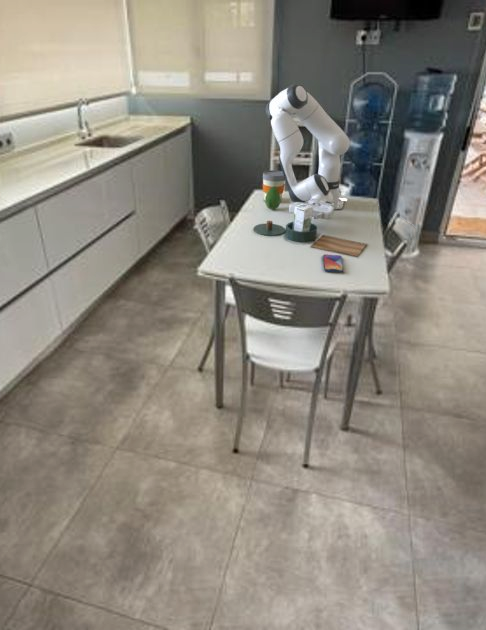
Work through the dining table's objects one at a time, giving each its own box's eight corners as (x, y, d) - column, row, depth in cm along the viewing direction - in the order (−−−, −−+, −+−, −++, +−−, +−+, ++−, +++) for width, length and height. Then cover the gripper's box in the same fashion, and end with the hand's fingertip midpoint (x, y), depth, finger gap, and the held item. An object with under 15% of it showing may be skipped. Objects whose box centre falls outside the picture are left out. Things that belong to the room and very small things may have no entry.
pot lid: (261, 223, 217) (262, 214, 214) (289, 229, 211) (290, 219, 209) (247, 233, 206) (248, 223, 204) (277, 239, 200) (277, 229, 198)
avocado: (276, 206, 240) (277, 184, 234) (282, 211, 234) (283, 188, 228) (262, 207, 238) (263, 185, 232) (267, 212, 232) (269, 189, 225)
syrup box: (299, 233, 206) (302, 202, 198) (309, 237, 202) (313, 206, 194) (291, 237, 202) (294, 205, 195) (301, 240, 199) (305, 208, 191)
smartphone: (341, 257, 184) (341, 255, 184) (343, 273, 172) (343, 270, 171) (322, 256, 185) (323, 254, 185) (323, 271, 172) (324, 269, 172)
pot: (292, 230, 210) (293, 219, 207) (319, 236, 205) (321, 225, 202) (280, 239, 200) (281, 228, 197) (309, 246, 194) (310, 234, 192)
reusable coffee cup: (268, 195, 256) (270, 169, 248) (288, 200, 250) (290, 172, 242) (256, 201, 247) (258, 173, 240) (276, 205, 241) (278, 177, 234)
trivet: (322, 236, 205) (322, 234, 204) (366, 244, 196) (366, 243, 196) (311, 247, 193) (311, 245, 193) (357, 257, 185) (357, 255, 185)
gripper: (295, 197, 213) (284, 204, 203) (337, 204, 205) (328, 212, 194) (294, 209, 216) (283, 218, 206) (335, 217, 208) (326, 226, 198)
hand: (305, 215), depth 200 cm, fingers open, 8 cm apart
